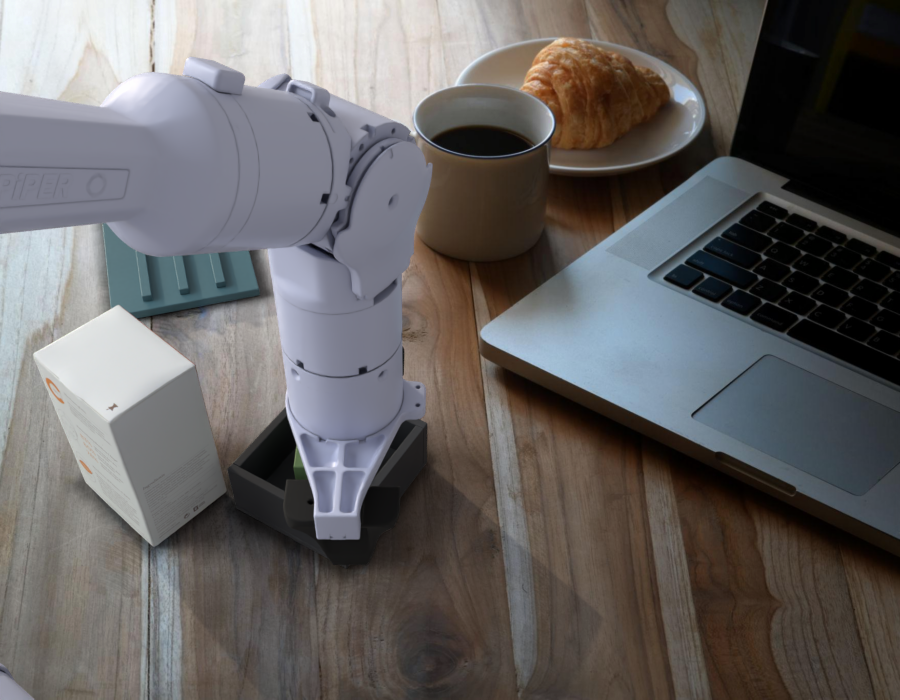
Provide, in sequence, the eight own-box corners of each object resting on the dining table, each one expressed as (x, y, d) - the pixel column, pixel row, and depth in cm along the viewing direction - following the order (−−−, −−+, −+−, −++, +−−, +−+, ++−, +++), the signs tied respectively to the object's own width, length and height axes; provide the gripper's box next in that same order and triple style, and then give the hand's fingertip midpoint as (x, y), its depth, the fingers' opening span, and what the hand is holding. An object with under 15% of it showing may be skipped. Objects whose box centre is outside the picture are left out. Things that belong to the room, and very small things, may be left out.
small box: (229, 492, 65) (198, 364, 56) (153, 550, 61) (107, 425, 52) (158, 430, 68) (118, 301, 59) (83, 482, 65) (27, 354, 56)
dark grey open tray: (346, 569, 61) (342, 531, 58) (235, 508, 64) (226, 469, 61) (427, 462, 67) (427, 422, 64) (322, 411, 70) (318, 371, 67)
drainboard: (260, 295, 79) (258, 283, 78) (113, 323, 76) (109, 310, 75) (225, 163, 92) (223, 151, 91) (99, 182, 89) (95, 170, 88)
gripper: (426, 457, 39) (423, 616, 49) (427, 236, 49) (424, 405, 59) (255, 456, 39) (287, 616, 48) (292, 234, 49) (312, 404, 58)
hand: (354, 500), depth 53 cm, fingers open, 7 cm apart
